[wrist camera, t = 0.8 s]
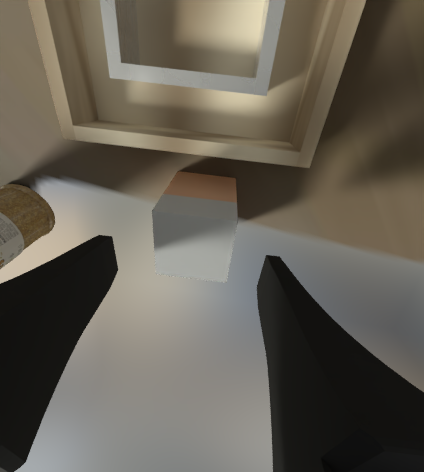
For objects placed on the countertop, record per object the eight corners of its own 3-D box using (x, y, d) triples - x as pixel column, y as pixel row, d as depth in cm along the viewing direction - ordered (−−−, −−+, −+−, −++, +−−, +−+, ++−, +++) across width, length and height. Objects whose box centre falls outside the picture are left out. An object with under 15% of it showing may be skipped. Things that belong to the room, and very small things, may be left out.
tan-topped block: (235, 178, 15) (237, 221, 10) (227, 227, 17) (226, 282, 12) (178, 171, 15) (152, 210, 10) (177, 221, 18) (155, 273, 13)
